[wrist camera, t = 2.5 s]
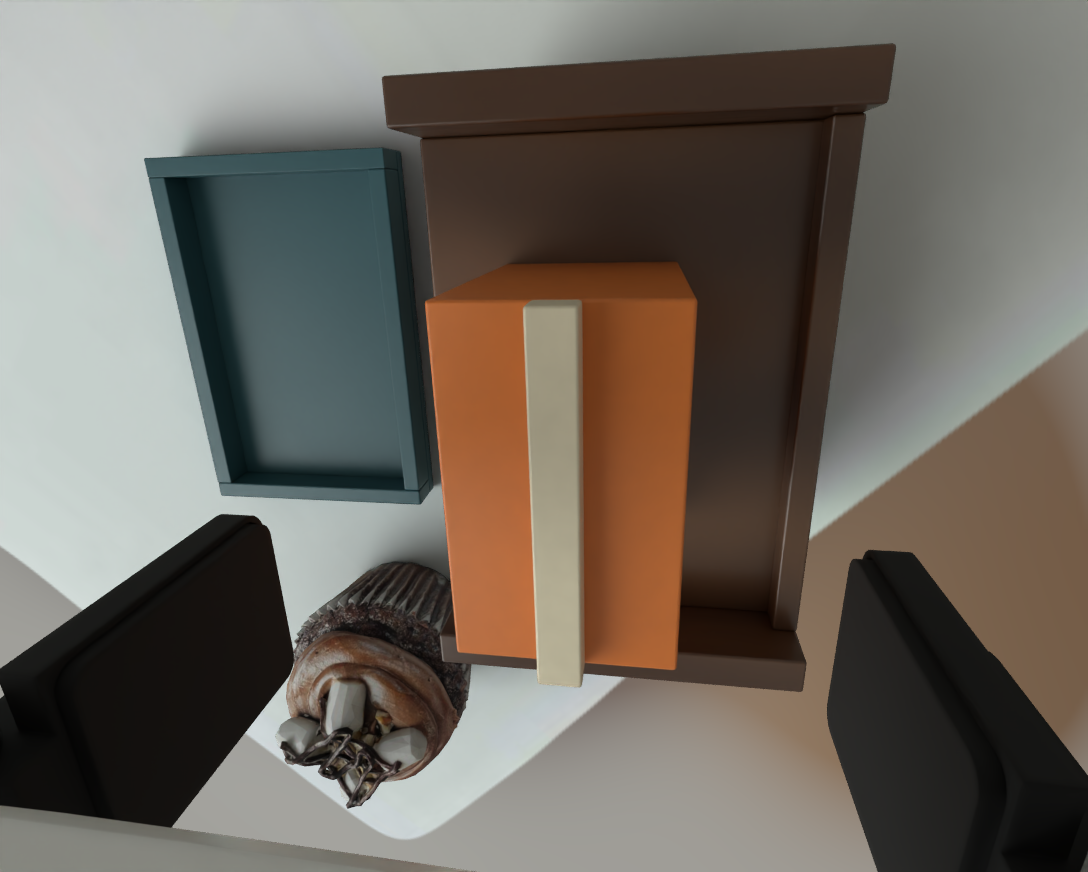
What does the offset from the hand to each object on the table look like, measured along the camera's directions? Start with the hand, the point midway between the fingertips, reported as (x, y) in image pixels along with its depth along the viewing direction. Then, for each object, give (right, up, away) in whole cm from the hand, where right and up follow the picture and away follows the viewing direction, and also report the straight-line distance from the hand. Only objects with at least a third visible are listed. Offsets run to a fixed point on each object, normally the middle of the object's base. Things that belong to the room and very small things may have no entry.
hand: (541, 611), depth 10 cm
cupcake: (-8, -8, +27) cm, 29 cm away
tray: (-12, +8, +22) cm, 26 cm away
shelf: (+4, +8, +19) cm, 21 cm away
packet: (+2, +4, +10) cm, 11 cm away
